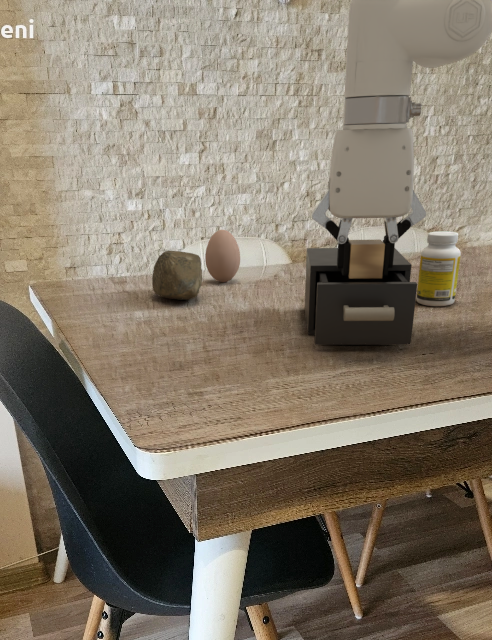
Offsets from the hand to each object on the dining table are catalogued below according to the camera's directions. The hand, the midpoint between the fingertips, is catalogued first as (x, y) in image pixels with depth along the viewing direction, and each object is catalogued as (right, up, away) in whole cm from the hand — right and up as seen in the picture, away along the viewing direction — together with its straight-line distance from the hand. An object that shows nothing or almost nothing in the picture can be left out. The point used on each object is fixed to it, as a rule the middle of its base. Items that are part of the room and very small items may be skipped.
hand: (364, 272), depth 87 cm
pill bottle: (+17, +2, +24) cm, 29 cm away
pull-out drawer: (0, -7, +4) cm, 8 cm away
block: (0, 0, 0) cm, 0 cm away
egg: (-18, +12, +44) cm, 49 cm away
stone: (-26, +5, +32) cm, 42 cm away
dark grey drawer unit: (+1, -3, +14) cm, 15 cm away
